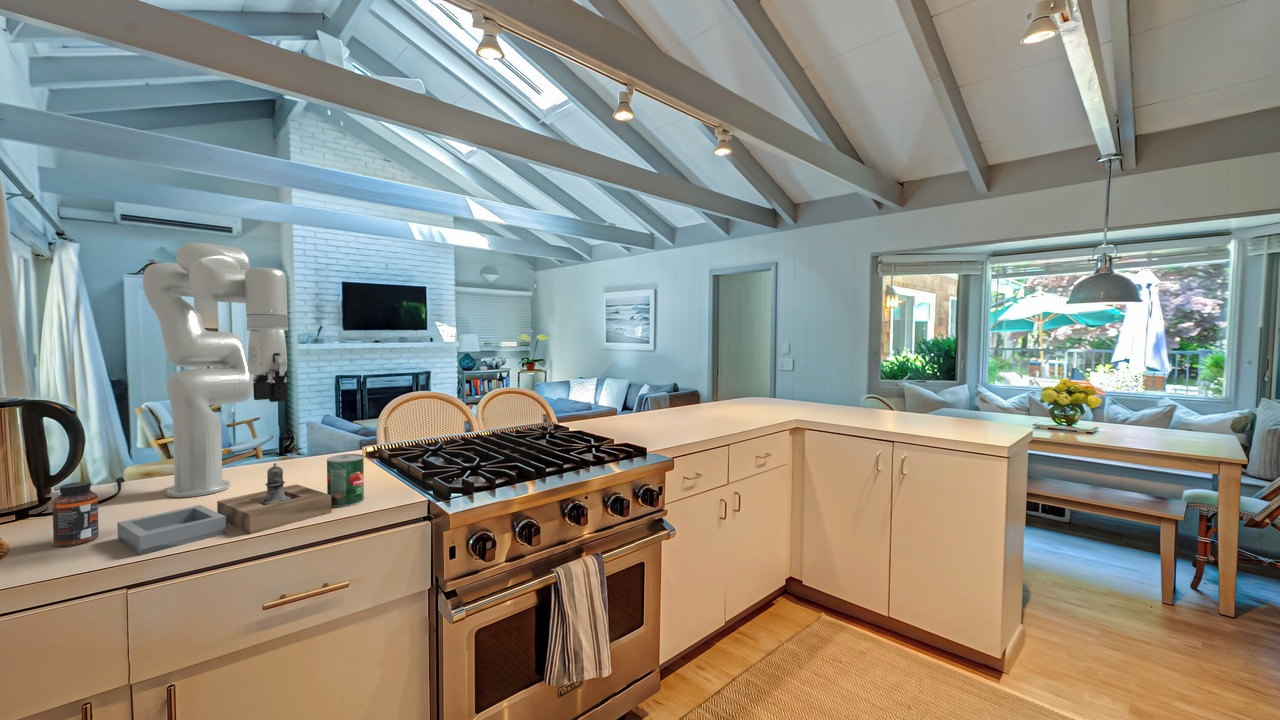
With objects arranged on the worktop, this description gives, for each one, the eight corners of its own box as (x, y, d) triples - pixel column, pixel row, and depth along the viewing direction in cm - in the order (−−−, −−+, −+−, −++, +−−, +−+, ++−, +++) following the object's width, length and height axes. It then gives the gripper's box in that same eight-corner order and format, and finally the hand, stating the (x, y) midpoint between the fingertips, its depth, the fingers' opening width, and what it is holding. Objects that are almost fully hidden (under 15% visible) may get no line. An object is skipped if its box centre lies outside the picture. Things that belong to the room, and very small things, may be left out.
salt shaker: (275, 521, 113) (274, 466, 112) (252, 519, 114) (251, 465, 114) (297, 512, 119) (297, 460, 118) (276, 510, 120) (275, 459, 119)
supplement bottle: (99, 541, 101) (98, 483, 100) (53, 550, 96) (51, 490, 96) (98, 533, 105) (96, 478, 104) (53, 541, 100) (52, 484, 100)
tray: (117, 540, 101) (117, 522, 101) (200, 520, 112) (200, 505, 112) (140, 555, 95) (139, 536, 94) (226, 533, 106) (225, 516, 105)
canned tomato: (365, 503, 125) (365, 458, 125) (327, 509, 121) (326, 462, 121) (362, 495, 132) (362, 452, 132) (326, 500, 128) (326, 456, 127)
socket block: (217, 518, 114) (217, 500, 114) (296, 500, 127) (296, 484, 127) (250, 534, 105) (249, 514, 105) (331, 512, 119) (331, 495, 119)
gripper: (234, 325, 118) (237, 400, 118) (260, 321, 107) (263, 403, 107) (273, 326, 124) (275, 397, 124) (301, 322, 113) (304, 400, 113)
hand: (270, 400), depth 116 cm, fingers open, 9 cm apart
